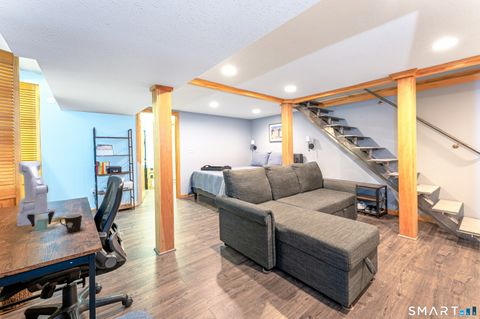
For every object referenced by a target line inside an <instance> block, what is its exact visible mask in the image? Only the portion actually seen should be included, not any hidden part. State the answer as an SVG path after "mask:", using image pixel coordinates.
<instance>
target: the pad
mask: <svg viewBox="0 0 480 319" xmlns="http://www.w3.org/2000/svg"><path fill="white" fill-rule="evenodd" d="M53 227H54V226H50V227H47V229H46V230H41V231H37V229H36V228H34V229H32V230H31V232H29V234H37V233H45V232H50V230H51V229H52V228H53Z"/></svg>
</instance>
